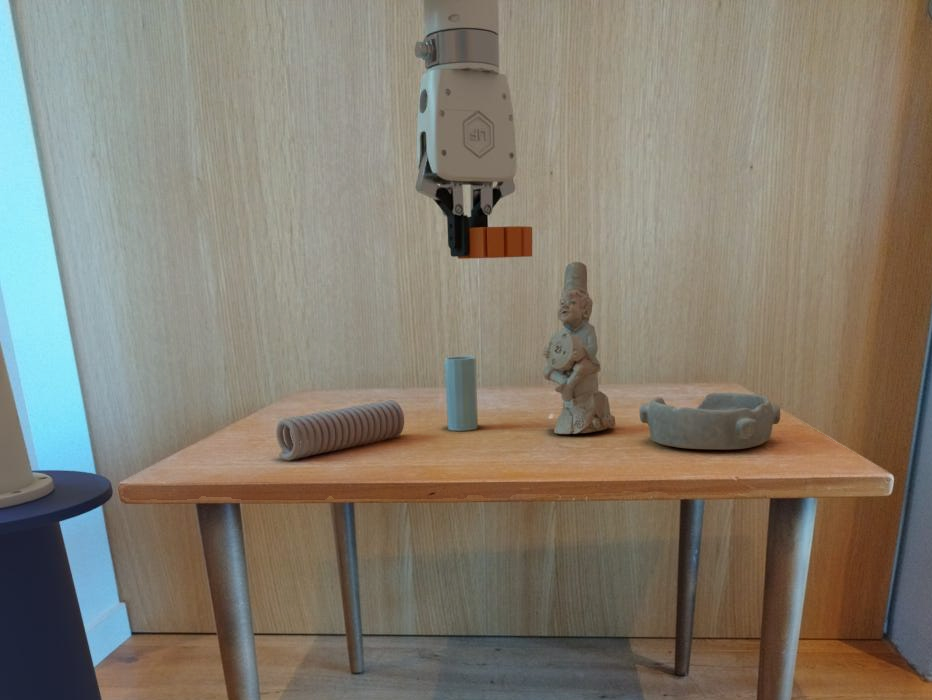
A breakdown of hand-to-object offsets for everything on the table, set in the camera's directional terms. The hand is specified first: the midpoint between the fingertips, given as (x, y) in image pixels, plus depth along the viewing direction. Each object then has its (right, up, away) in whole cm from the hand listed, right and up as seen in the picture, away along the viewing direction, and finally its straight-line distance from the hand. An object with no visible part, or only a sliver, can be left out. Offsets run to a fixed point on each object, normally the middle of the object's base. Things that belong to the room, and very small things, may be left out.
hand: (468, 254), depth 95 cm
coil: (-15, -20, +9) cm, 27 cm away
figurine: (+14, -16, +15) cm, 26 cm away
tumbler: (-1, -15, +19) cm, 24 cm away
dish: (+29, -20, +5) cm, 35 cm away
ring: (+3, 0, +2) cm, 3 cm away
